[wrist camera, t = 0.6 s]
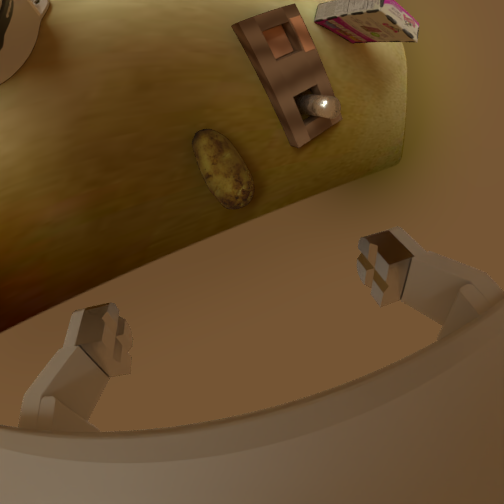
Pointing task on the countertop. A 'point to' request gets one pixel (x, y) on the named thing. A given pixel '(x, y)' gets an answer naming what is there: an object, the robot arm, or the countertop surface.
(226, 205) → the potato
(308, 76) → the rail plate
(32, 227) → the countertop surface
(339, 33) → the candy bar box
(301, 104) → the metal peg
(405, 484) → the robot arm
